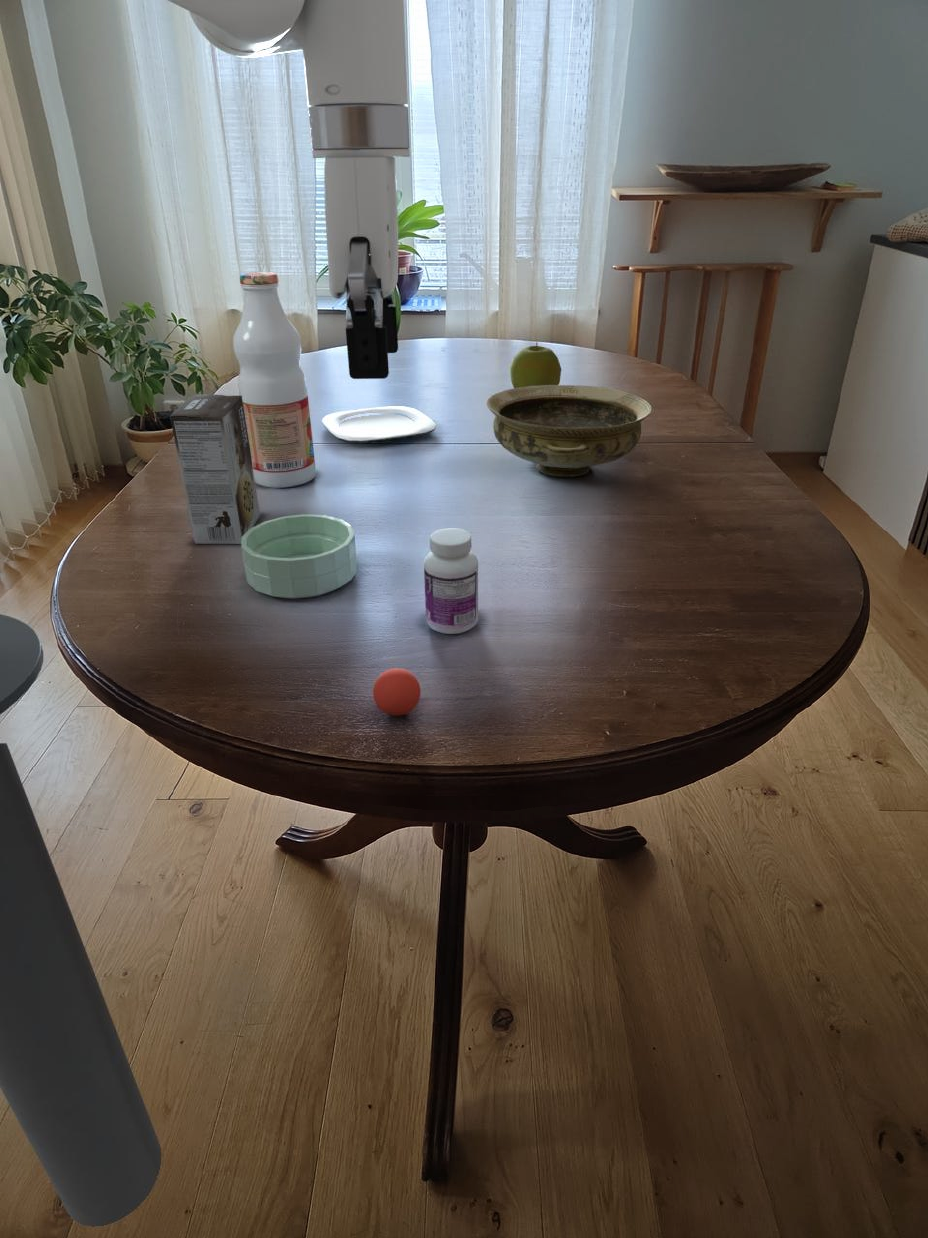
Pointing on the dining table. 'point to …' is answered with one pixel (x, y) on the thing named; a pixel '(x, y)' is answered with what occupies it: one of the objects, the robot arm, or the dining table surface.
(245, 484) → the grey cardboard box
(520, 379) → the apple
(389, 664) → the dining table surface
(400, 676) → the rubber ball
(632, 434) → the ceramic bowl
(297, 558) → the celadon bowl
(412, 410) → the plate
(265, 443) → the fruit juice
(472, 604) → the pill bottle
